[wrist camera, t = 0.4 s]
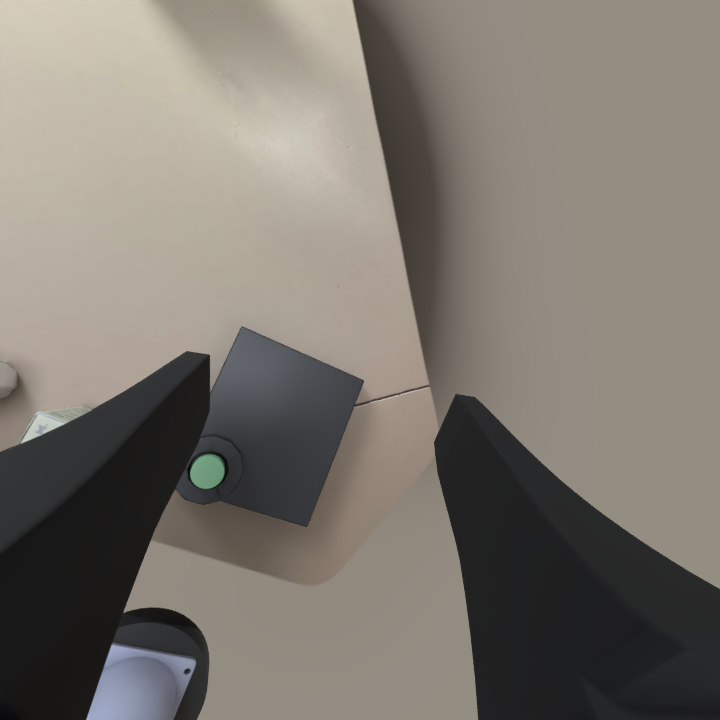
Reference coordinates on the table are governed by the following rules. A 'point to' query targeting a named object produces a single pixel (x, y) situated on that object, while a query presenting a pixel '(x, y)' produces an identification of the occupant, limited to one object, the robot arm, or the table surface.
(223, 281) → the table surface
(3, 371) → the milkshake
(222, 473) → the button
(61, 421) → the small box
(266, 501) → the scale
